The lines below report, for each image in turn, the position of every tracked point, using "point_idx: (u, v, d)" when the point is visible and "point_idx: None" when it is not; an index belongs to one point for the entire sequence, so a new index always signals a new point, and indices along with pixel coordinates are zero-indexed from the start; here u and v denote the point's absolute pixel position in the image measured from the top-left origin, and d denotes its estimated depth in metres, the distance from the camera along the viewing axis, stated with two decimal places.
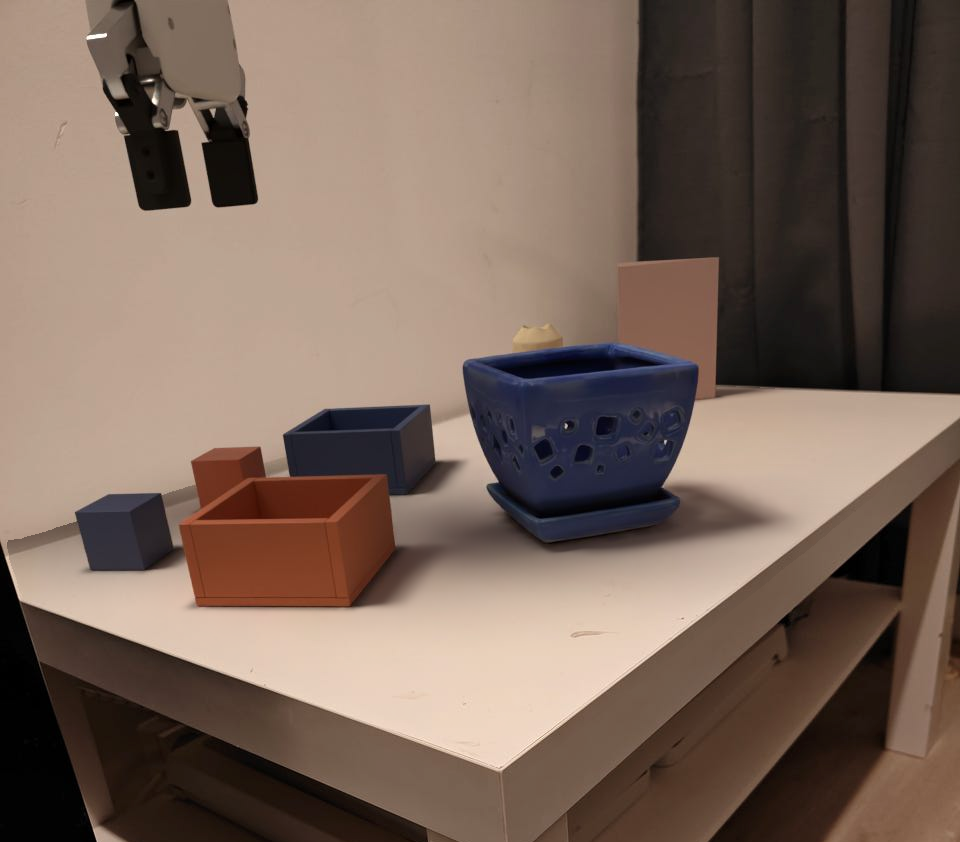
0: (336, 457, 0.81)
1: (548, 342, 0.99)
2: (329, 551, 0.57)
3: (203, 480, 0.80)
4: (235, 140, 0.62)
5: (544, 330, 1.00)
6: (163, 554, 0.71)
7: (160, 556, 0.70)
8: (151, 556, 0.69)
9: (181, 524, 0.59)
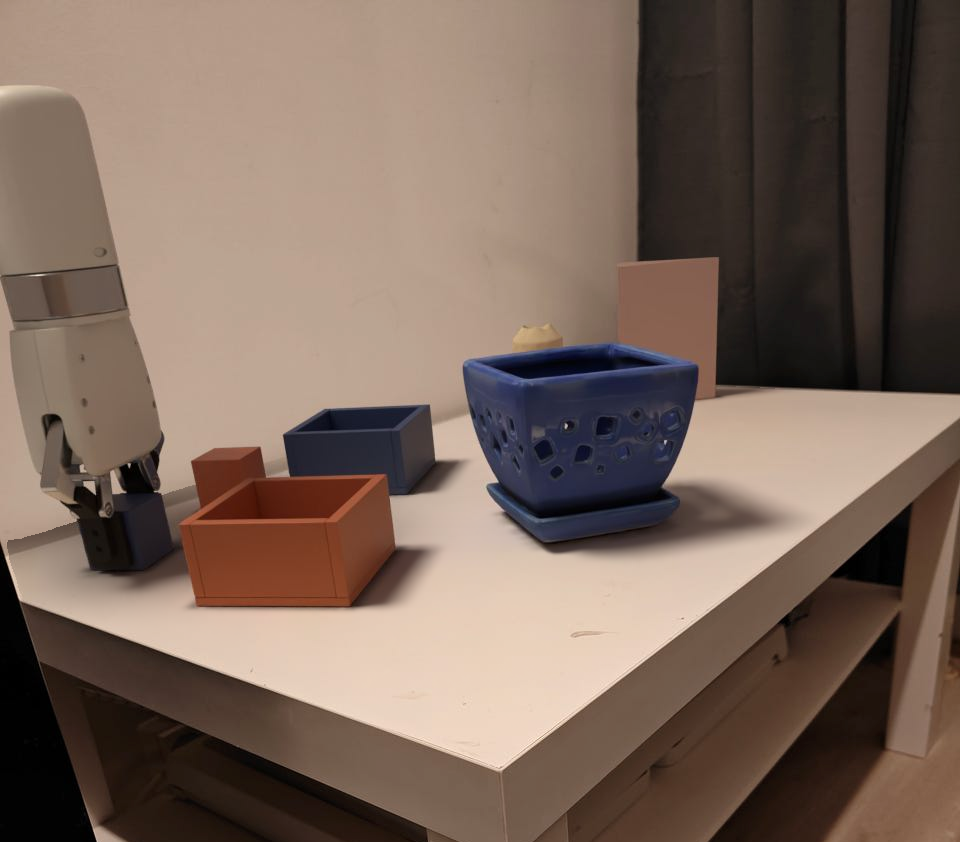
0: (336, 457, 0.81)
1: (548, 342, 0.99)
2: (329, 551, 0.57)
3: (203, 480, 0.80)
4: None
5: (544, 330, 1.00)
6: (163, 554, 0.71)
7: (160, 556, 0.70)
8: (151, 556, 0.69)
9: (181, 524, 0.59)
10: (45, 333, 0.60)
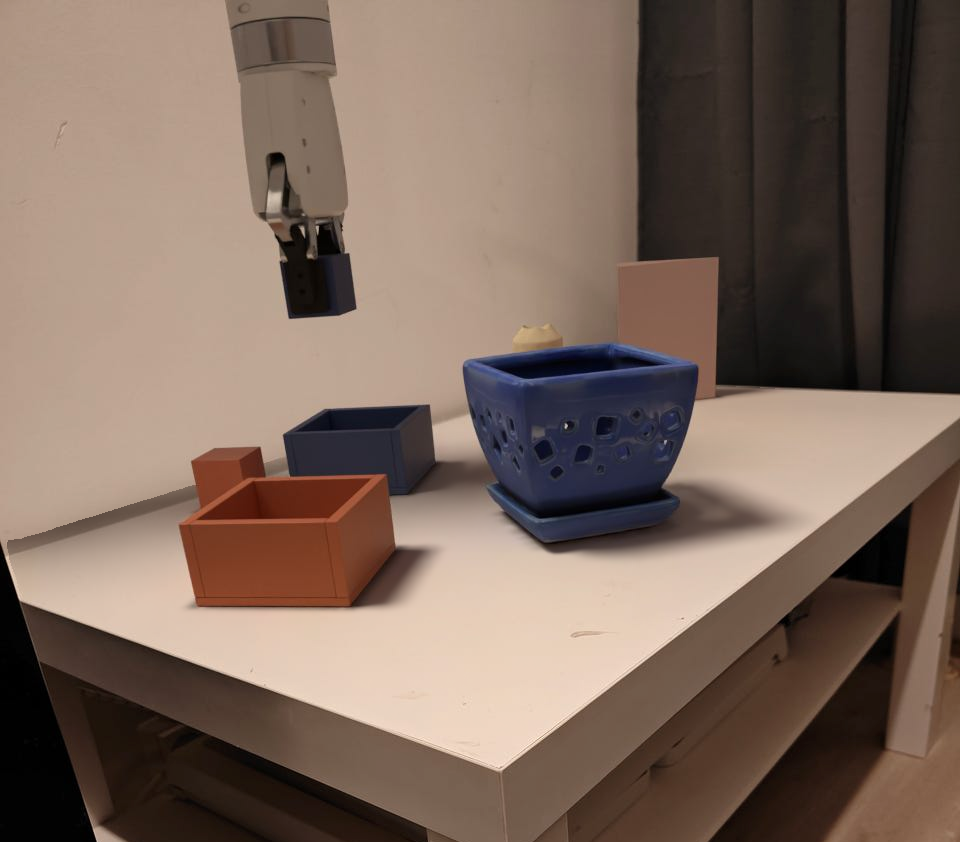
0: (336, 457, 0.81)
1: (548, 342, 0.99)
2: (329, 551, 0.57)
3: (203, 480, 0.80)
4: None
5: (544, 330, 1.00)
6: (350, 309, 0.79)
7: (348, 310, 0.78)
8: (343, 306, 0.77)
9: (181, 524, 0.59)
10: (275, 74, 0.68)
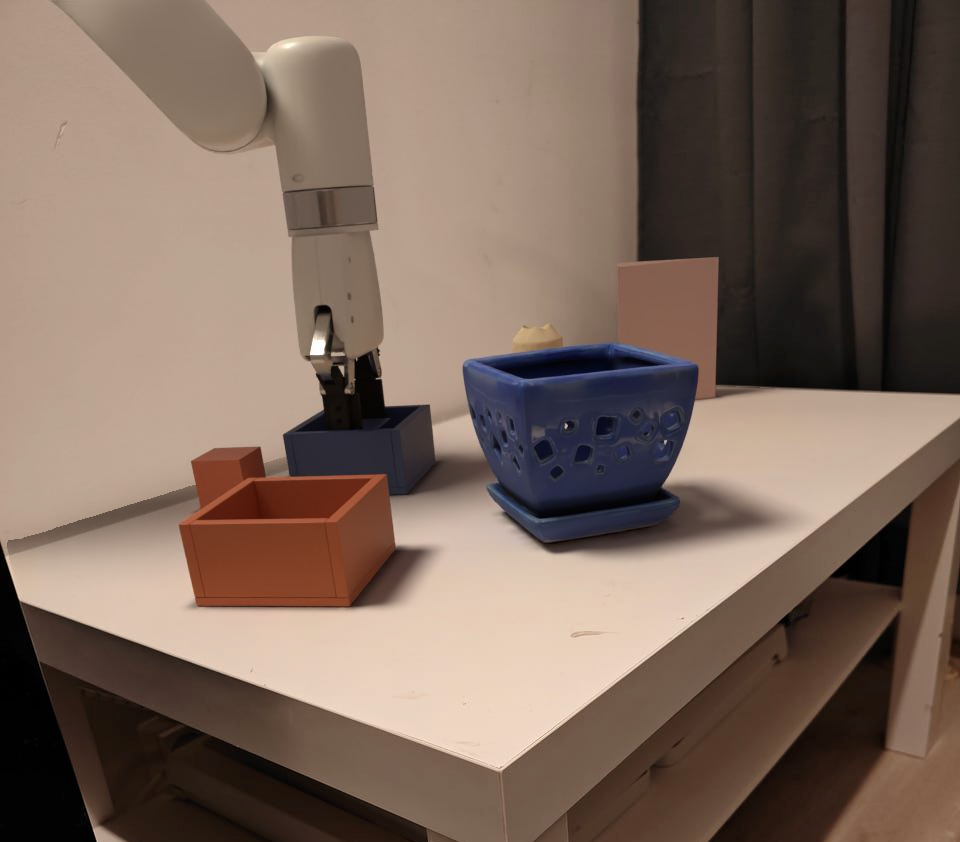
0: (336, 457, 0.81)
1: (548, 342, 0.99)
2: (329, 551, 0.57)
3: (203, 480, 0.80)
4: (373, 381, 0.86)
5: (544, 330, 1.00)
6: None
7: None
8: None
9: (181, 524, 0.59)
10: (324, 237, 0.74)
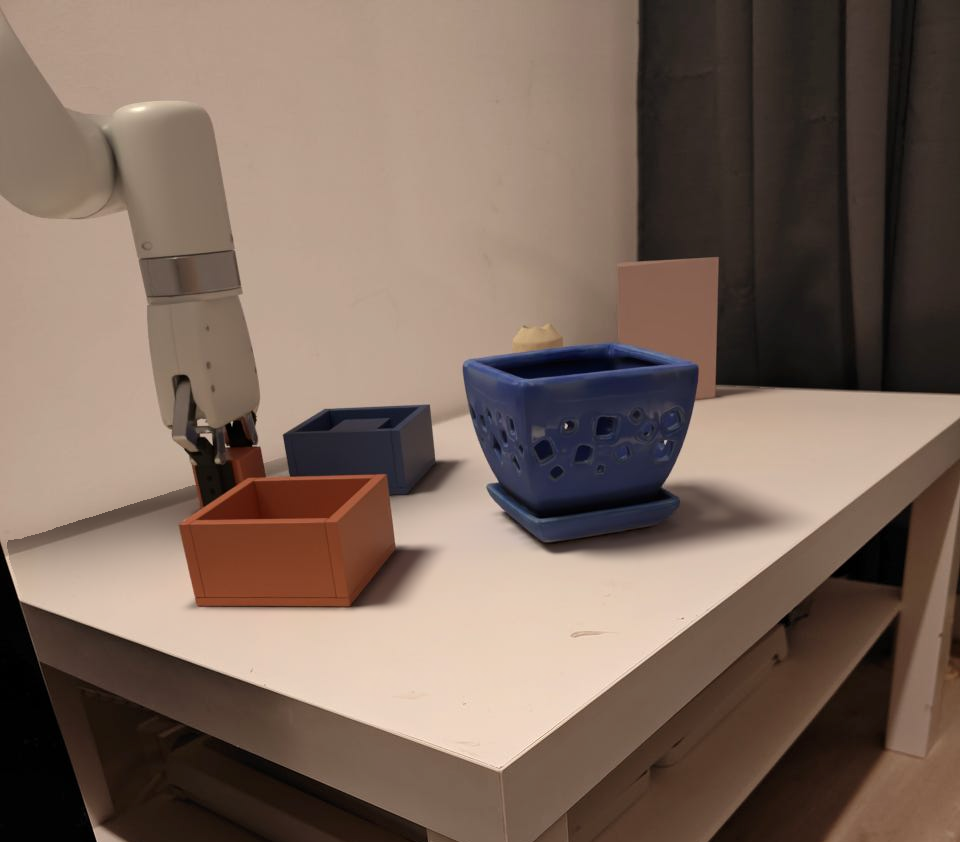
0: (336, 457, 0.81)
1: (548, 342, 0.99)
2: (329, 551, 0.57)
3: None
4: None
5: (544, 330, 1.00)
6: None
7: None
8: None
9: (181, 524, 0.59)
10: (179, 306, 0.72)
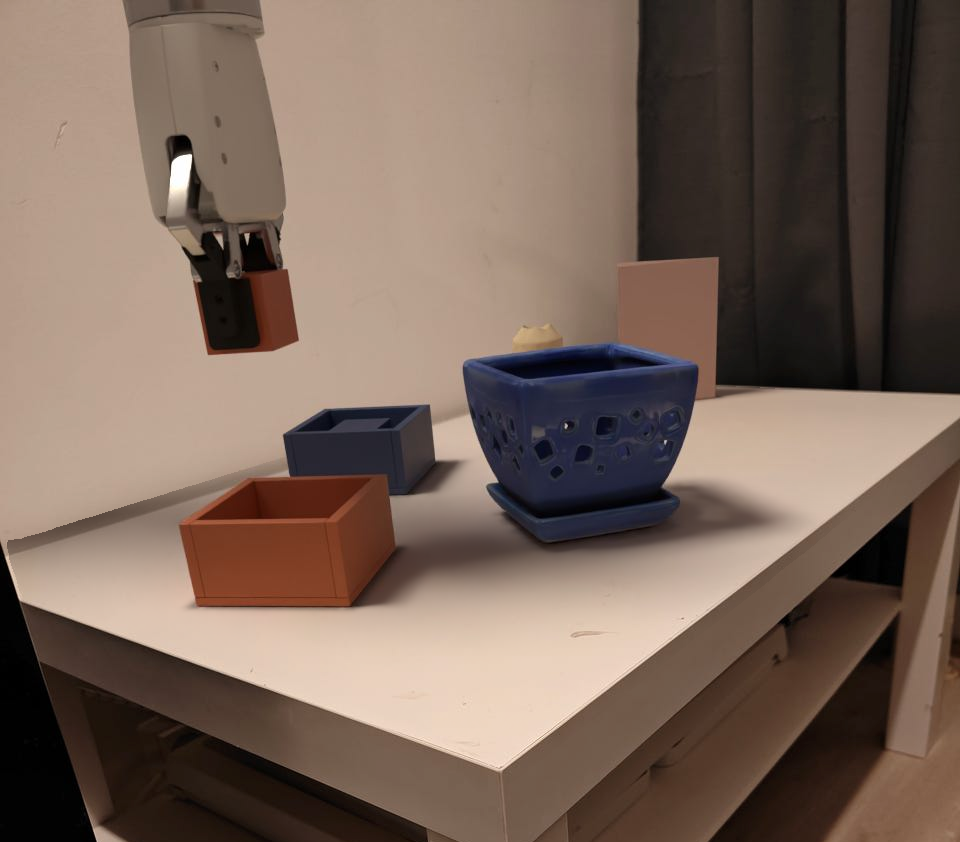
0: (336, 457, 0.81)
1: (548, 342, 0.99)
2: (329, 551, 0.57)
3: None
4: None
5: (544, 330, 1.00)
6: None
7: None
8: None
9: (181, 524, 0.59)
10: (175, 28, 0.50)
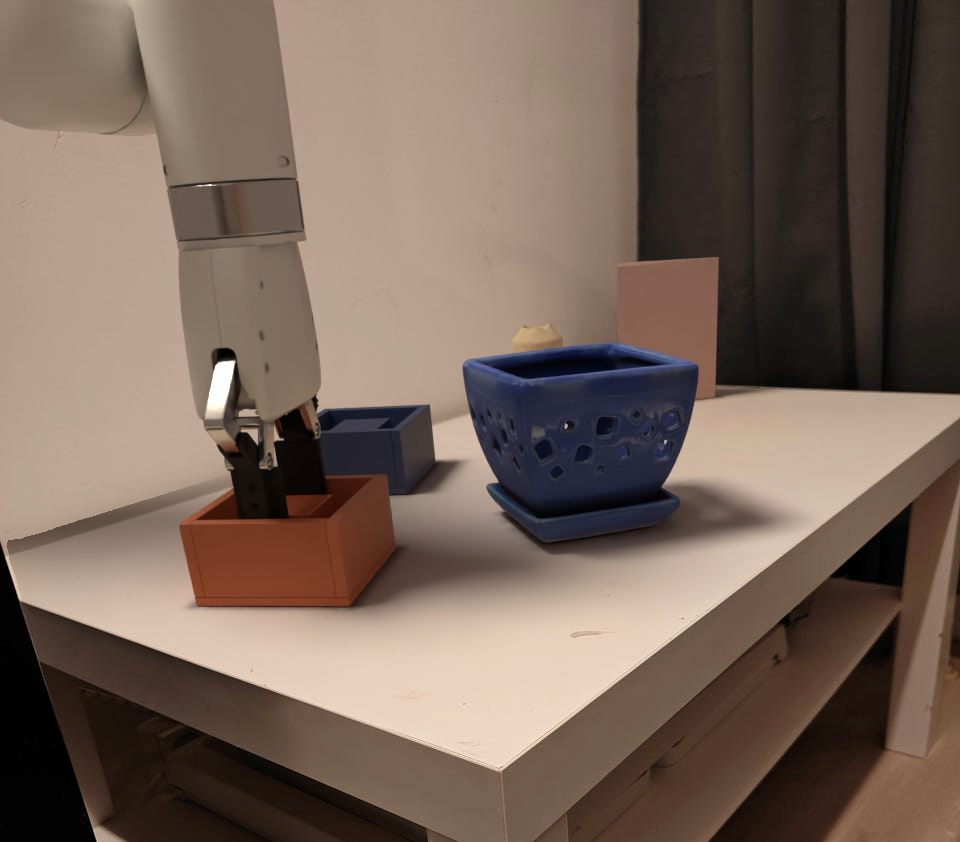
0: (336, 457, 0.81)
1: (548, 342, 0.99)
2: (329, 551, 0.57)
3: None
4: (307, 442, 0.64)
5: (544, 330, 1.00)
6: None
7: None
8: None
9: (181, 524, 0.59)
10: (223, 253, 0.52)
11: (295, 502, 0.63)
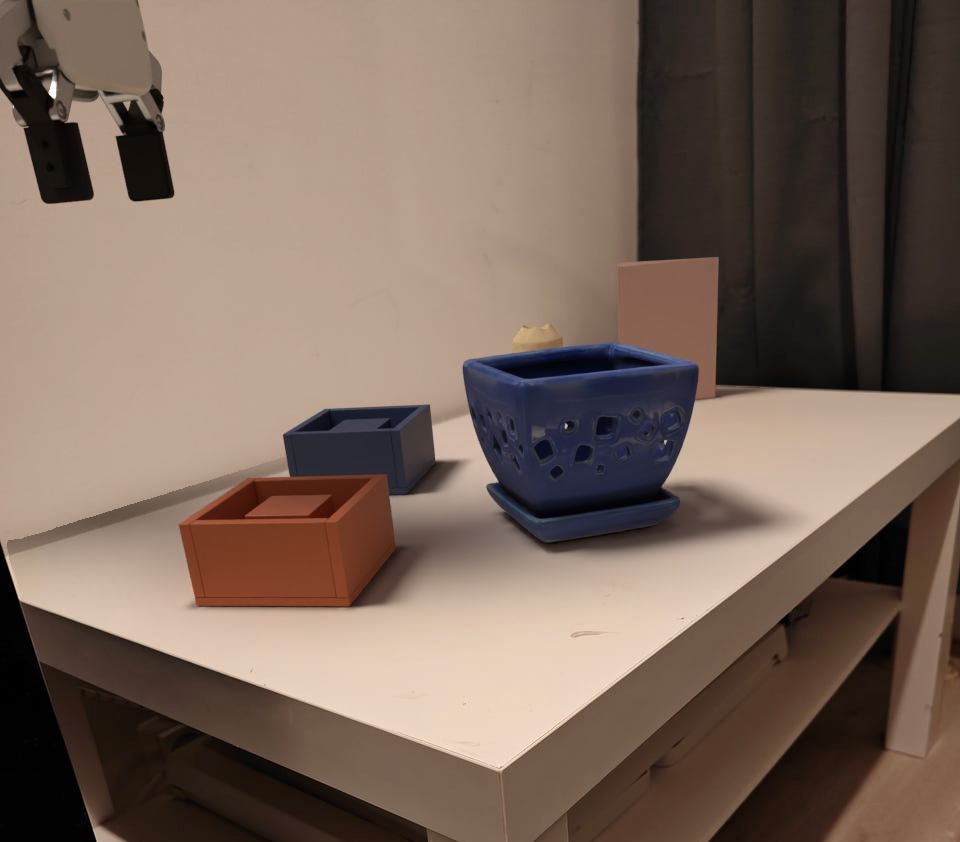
0: (336, 457, 0.81)
1: (548, 342, 0.99)
2: (329, 551, 0.57)
3: None
4: (149, 133, 0.62)
5: (544, 330, 1.00)
6: None
7: None
8: None
9: (181, 524, 0.59)
10: None
11: (295, 502, 0.63)
